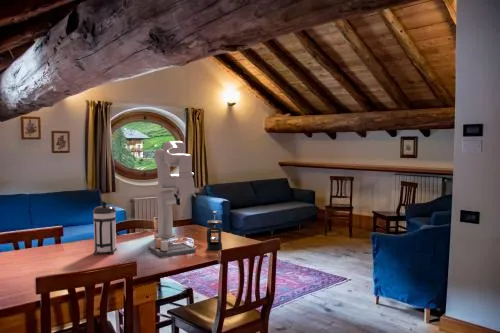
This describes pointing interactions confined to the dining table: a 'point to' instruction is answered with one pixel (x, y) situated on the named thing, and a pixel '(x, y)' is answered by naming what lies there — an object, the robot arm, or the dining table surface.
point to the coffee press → (104, 229)
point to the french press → (214, 245)
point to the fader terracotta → (158, 242)
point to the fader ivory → (164, 245)
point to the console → (172, 250)
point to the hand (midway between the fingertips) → (185, 204)
